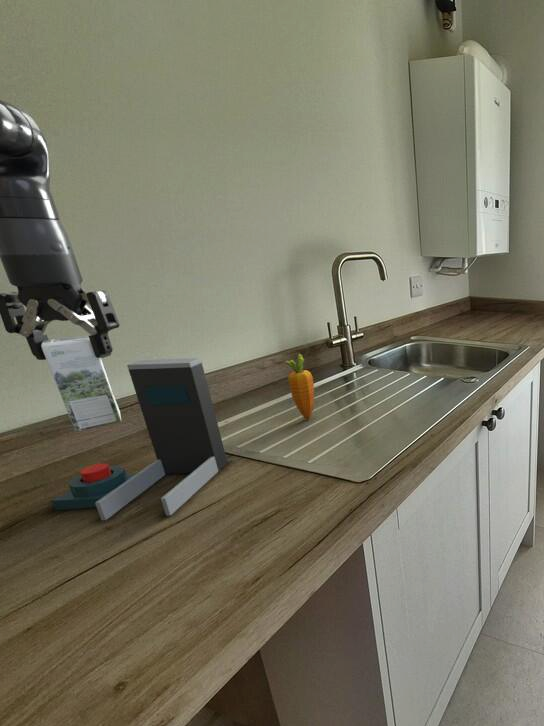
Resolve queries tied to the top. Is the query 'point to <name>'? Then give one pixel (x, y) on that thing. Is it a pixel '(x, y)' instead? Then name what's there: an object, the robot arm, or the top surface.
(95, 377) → the syrup box
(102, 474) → the stop button
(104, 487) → the control block
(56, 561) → the top surface
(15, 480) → the top surface
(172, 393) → the grey panel on legs
